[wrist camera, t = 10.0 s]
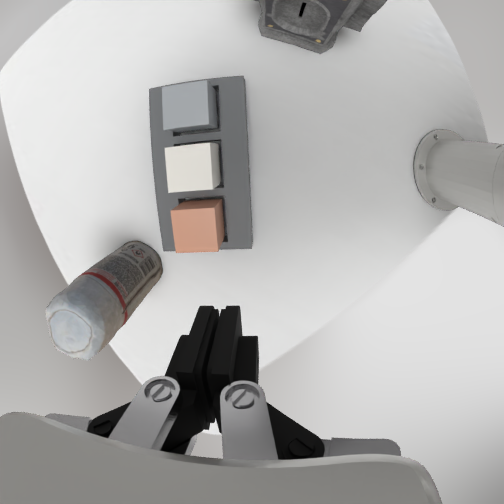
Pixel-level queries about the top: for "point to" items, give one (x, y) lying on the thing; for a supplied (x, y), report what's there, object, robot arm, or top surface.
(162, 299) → the top surface
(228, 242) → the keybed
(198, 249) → the terracotta key
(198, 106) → the slate key
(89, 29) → the top surface
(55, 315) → the spray can
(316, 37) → the figurine
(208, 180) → the ivory key
